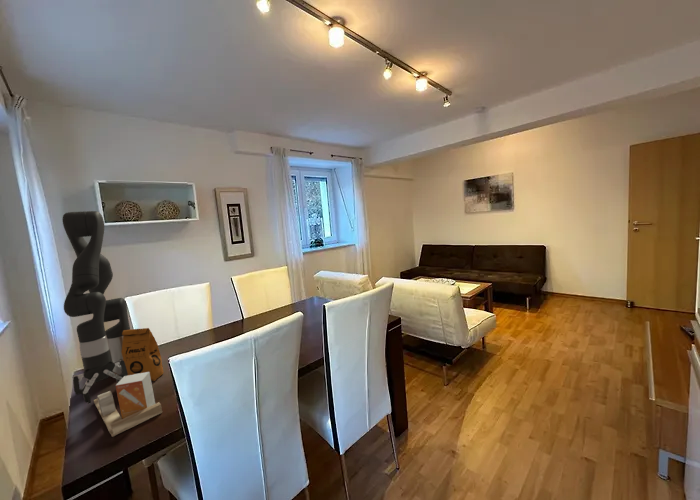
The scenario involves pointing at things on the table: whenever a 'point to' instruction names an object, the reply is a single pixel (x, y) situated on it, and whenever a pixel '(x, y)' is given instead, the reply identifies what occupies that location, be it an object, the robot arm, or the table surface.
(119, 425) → the hooked slat
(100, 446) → the table surface
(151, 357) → the coffee package
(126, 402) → the small box
